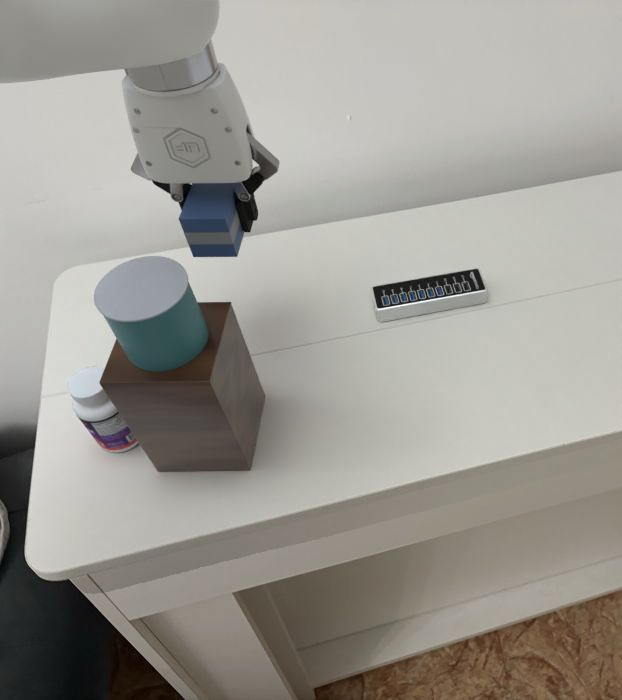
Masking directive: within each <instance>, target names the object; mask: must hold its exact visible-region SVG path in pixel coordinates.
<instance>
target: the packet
mask: <svg viewBox="0 0 622 700" xmlns="http://www.w3.org/2000/svg"><path fill="white" fill-rule="evenodd" d="M253 194H254V198H256V196H255V192H254V193H253ZM236 197H237V196H236V193H235V192H234V190H233V188H232V187H231V185H230V184H229V183H199V184H192V185H191V188H190V190H189V193H188V196H187V198H186V201H185V203H184V206H183V209H182V210H181V212H180V214H179V217H178V222H179V224H180V226H181V229H182V231H183V235H184V237H185V240H186V242H187V245H188V248H189V250H190V252H191V254H192V257H193V258H238V256H239V252H240V249H241V245H242V243H243V239H244V235H245V232H244V231H243V230H242V227H241V223H240V219H239V216H238V213H237V210H236V207H235V200H236Z"/></svg>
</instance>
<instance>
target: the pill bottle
mask: <svg viewBox="0 0 622 700" xmlns="http://www.w3.org/2000/svg"><path fill="white" fill-rule="evenodd" d="M104 369H105V368H103V367H99V366H88V367H85V368H83V369H80V370H79V371H77V372H75V373H74V374H73V375H72V376H71V377H70V378H69V381H68V383H67V391H68V393H69V395H70V397H71V398H72V400H71V407H72V410H73V413H74V414H75V415H76V417H77V419H78V420H79V421H80V422H81V423H82V425H83V426H84V428H86V430H87V431H88V432H89V434H90V435H91V437H92V438H93V440H95V441H96V443H97V444H98V445H99V447H100V448H101V449H103V450H105V451H106V452H110V453H123V452H126V451H129V450H132V449H133V448H135V447H136V446H138V444H139V442H138V441H137V439H136V438H135V436H134V435H133V433H132V432H131V430H130V429H129V427H128V426H127V424H126V423H125V421H124V420H123V418H122V417H121V415H120V414H119V412H118V411H117V409H116V408H115V406H114V405H113V403H112V402H111V400H110V399H109V397H108V396H107V394H106V393H105V391H104V390H103V388H102V387H101V385H100V384H99V382H100V379H101V377H102V374H103V372H104Z"/></svg>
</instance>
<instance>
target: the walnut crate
mask: <svg viewBox="0 0 622 700" xmlns="http://www.w3.org/2000/svg"><path fill="white" fill-rule="evenodd" d="M197 303H198V305H199V307H200V310H201V312H202V314H203V317H204V319H205V322H206V324H207V326H208V331H209V336H208V340H207V343H206V345H205V347H204V349H203V350H202V351H201V352H200V354H199V355H198V356H196V357H195V358H194V359H193V360H191V361H190V362H188V363H187V364H185V365H183V366H181V367H178V368H175V369H172V370H168V371H159V372H155V371H147V370H143V369H141V368H138V367H137V366H135V365H134V364H133V363H131V361H130V360H129V359H128V357H127V355H126V353H125V352H124V350H123V348H122V347H121V345H120V343H119V341H118V340H117V338H116V337H115V338H116V339H115V341H114V344H113V347H112V349H111V351H110V354H109V356H108V359H107V362H106V364H105V367H104V368H103V369H104V372H103V374H102V377H101V379H100V382H99V384H100V385H101V387H102V388H103V390H104V391H105V393H106V394H107V396H108V397H109V399H110V400H111V402H112V403H113V405H114V406H115V408H116V409H117V411H118V412H119V414H120V415H121V417H122V418H123V420H124V421H125V423H126V424H127V426H128V427H129V429H130V430H131V432H132V433H133V435H134V436H135V438H136V439H137V441H138V442H139V443H138V444H139V446H140V447H141V448H142V450H143V452H144V453H145V455H146V456H147V457H148V460H149V461H150V462H151V463H152V465H153V467H154V468H155V470H156V471H157V472H158V473H159V472H161V473H163V472H165V473H166V472H215V471H216V472H228V471H229V472H231V471H233V472H234V471H251V469H252V464H253V459H254V455H255V449H256V444H257V439H258V434H259V429H260V425H261V424H260V423H261V419H262V414H263V409H264V404H265V399H266V394H265V391H264V389H263V385H262V383H261V380H260V377H259V375H258V371H257V369H256V367H255V363H254V361H253V358H252V355H251V353H250V351H249V348H248V345H247V342H246V339H245V337H244V335H243V331H242V328H241V326H240V324H239V321H238V318H237V315H236V313H235V310H234V307H233V304H232V301H197Z"/></svg>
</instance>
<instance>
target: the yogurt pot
mask: <svg viewBox="0 0 622 700" xmlns="http://www.w3.org/2000/svg"><path fill="white" fill-rule="evenodd" d="M197 302H198V301H197V298H196V296H195V293H194V290H193V288H192V286H191V284H190V281H189V275H188V272H187V270H186V268H185V267H184V266H183V265H182V264H181V263H180V262H179V261H176V260H175V259H172V258H170V257H166V256H161V255H160V256H159V255H149V256H141V257H136V258H133V259H129V260H126V261H124V262H122V263H120V264H118V265H116V266H115V267H114V268H112V269H110V270H109V271H108V272H107V273H105V274H104V275H103V277H101V279H100V280H99V281H98V283H97V284H96V286H95V289H94V291H93V303H94V306H95V307H96V309H97V311H98V312H99V313H100V314H101V315H102V316H103V317H104V319H105V321H106V323H107V324H108V326H109V328H110V330H111V331H112V333H113V335H114V336H115V338H117V340H118V341H119V343H120V345H121V347H122V348H123V350H124V352H125V353H126V355H127V357H128V359H129V360H130V361H131V363H133V364H134V365H135V366H137V367H138V368H141V369H143V370H147V371H155V372H159V371H168V370H172V369H175V368H178V367H181V366H183V365H185V364H187V363H188V362H190V361H191V360H193V359H194V358H195V357H196V356H198V355H199V354H200V352H201V351H202V350H203V349H204V347H205V345H206V343H207V340H208V336H209V331H208V326H207V324H206V322H205V319H204V317H203V314H202V312H201V310H200V307H199V305H198V303H197Z"/></svg>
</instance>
